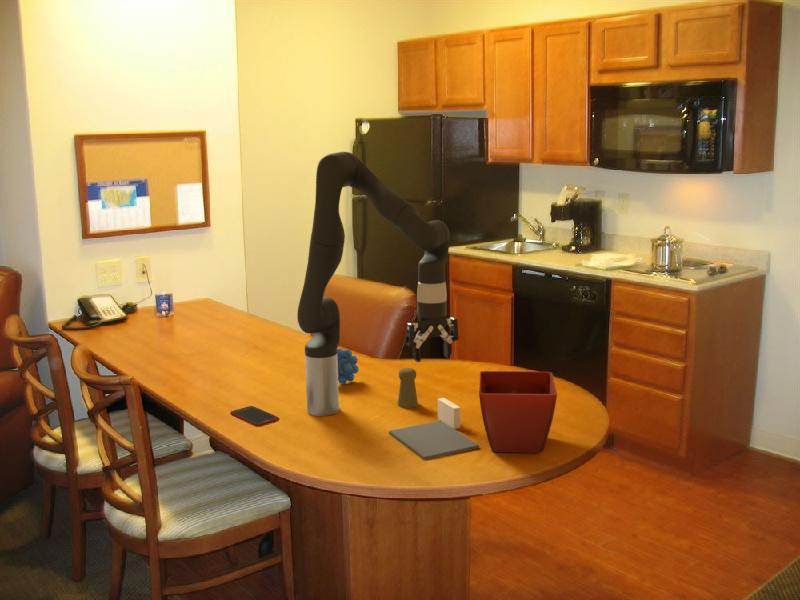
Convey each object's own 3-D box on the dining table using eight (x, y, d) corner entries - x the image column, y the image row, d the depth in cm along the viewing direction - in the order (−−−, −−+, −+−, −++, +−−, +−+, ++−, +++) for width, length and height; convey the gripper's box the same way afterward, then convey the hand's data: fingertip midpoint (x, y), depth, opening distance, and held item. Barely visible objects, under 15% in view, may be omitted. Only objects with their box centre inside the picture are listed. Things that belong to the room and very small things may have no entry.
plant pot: (479, 429, 233) (479, 369, 229) (550, 430, 231) (552, 371, 227) (478, 457, 214) (478, 393, 211) (555, 459, 213) (557, 394, 209)
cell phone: (251, 408, 253) (251, 405, 252) (280, 421, 242) (280, 417, 242) (229, 414, 248) (228, 411, 247) (257, 428, 237) (257, 424, 237)
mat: (388, 433, 231) (388, 430, 231) (440, 423, 238) (440, 420, 237) (423, 459, 213) (423, 456, 213) (478, 447, 220) (478, 445, 220)
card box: (437, 419, 241) (437, 398, 240) (444, 417, 242) (444, 397, 241) (453, 429, 233) (453, 408, 232) (460, 428, 234) (460, 407, 233)
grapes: (335, 391, 266) (334, 353, 263) (323, 385, 271) (322, 349, 268) (366, 383, 273) (365, 347, 270) (354, 378, 278) (353, 342, 275)
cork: (394, 406, 251) (394, 370, 249) (401, 400, 257) (401, 364, 254) (414, 408, 249) (413, 372, 247) (420, 402, 255) (420, 366, 252)
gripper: (449, 293, 227) (449, 352, 231) (400, 298, 221) (401, 359, 225) (463, 298, 220) (463, 359, 224) (413, 304, 215) (414, 366, 218)
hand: (432, 359), depth 224 cm, fingers open, 8 cm apart
